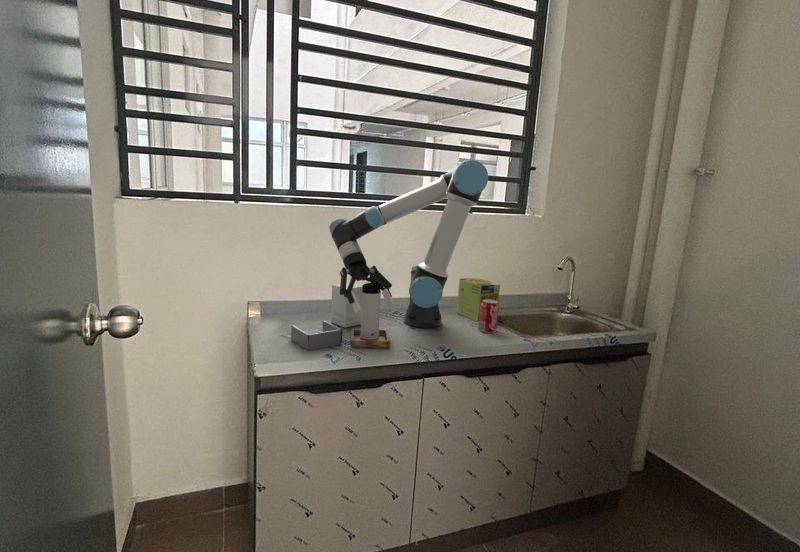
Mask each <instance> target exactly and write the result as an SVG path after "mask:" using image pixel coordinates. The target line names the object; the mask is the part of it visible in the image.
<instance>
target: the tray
mask: <svg viewBox="0 0 800 552" xmlns="http://www.w3.org/2000/svg"><path fill="white" fill-rule="evenodd" d="M360 332H361V328H351V331H350V333H351V334H350V348H351V349H354V348H355V349H385V350H386V349H387V350H388V349H390V348H391V339H390V336H389V335H390V334H389V332H388V329H382V328H381V329H380V328H379V340H360Z"/></svg>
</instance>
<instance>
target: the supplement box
mask: <svg viewBox="0 0 800 552" xmlns="http://www.w3.org/2000/svg"><path fill="white" fill-rule="evenodd" d="M349 283H350V282H347V283H346V290H347V288H348V285H349ZM362 290H363V289H362V285H360V284H355V283H354V286H353V288H352V291H351V293H352V292H354V293H355V296H356V298H357V300H358V303H359V305H360V307H361V305H362ZM330 311H331V314H330V323H331V324H333V325H336V326H340V327H343V328H349V327H354V326H358V325H361V310H360V311H359V312H358V313H355V311H354V308H353V306H352V304H350V303H349V301H348V298H347V297H344V295H340V283H335V284H331V310H330Z"/></svg>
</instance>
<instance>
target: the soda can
mask: <svg viewBox="0 0 800 552" xmlns="http://www.w3.org/2000/svg"><path fill="white" fill-rule="evenodd" d="M499 308H500V306H499V301H496V300H492V299H484V300H483V302H482V303H481V305H480V314H479V322H478V330H479V331H481V332H482V333H486V334H492V333H495V332H496V331H497V328H498V320H499V312H500V311H499Z"/></svg>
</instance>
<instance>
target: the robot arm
mask: <svg viewBox="0 0 800 552" xmlns="http://www.w3.org/2000/svg"><path fill="white" fill-rule="evenodd" d="M488 181H489V172H488V170H487V168H486V166H485V165H484V164H483V163H482V162H480V161H478V160H476V159H470V158H469V159H464V160H462V161H461V162H459V163H458V164H457V165H456V167H454V168H453V169H451V170H449V171H448V172H446V173H444V174H441V175H440V177H439V179H437V180H434V181H432V182H430V183H428V184H425V185H424V186H421V187H419V188H416V189H414V190H412V191H409V192H407V193H405V194H403V195H400V196H398V197H396V198H393V199H391V200H389V201H387V202H386V201H385V202H384V203H382V204H380V205H378V206H377V205H373V206H370V207H368V208H366V209H365V210H363V211H362V212H360V213H359V214H356V216H353V217H352V218H350V219H347V218H344V217H339V218H336V219H334V220H332V221H331V223H330V224H329V227H328V229H329V232H330V234H331V235H330V236H331V239H332V241H333V242H334V244H335V247H336V248H337V251H338V254H339V256H340V258H341V260H342V262H343V265H344V267H342V268H341V270H340V271H339V275H340V283H339V284H340V295H344V297H347V298H348V301H349V303H350V304H352V306H353V308H354V311H355V313H358V312H359V311H360V310H361V307H360V305H359V303H358V300H357V298H356V296H355V293H354V292H352V293H351V291H352V288H353V286H354V284H355V282H356V281H357V282H360V281H366V282H367V283H375V282H377V283H382V285H381V294H382V297H383V299H384V300H385V304H386V305H387V307H388V309H392V308H393V307H394V305H395V303H394V300H393V298H392V297H393V295H392V292H391V291H390V289H391V288H392V287H393V283H391V282H390V281H389V280H388V278H386V277H385V276H384V275H383V274H382V273H381V272H380V271H379V270H378V268H377V266H375V265H373V266H371V267H369V266H368V265H367V260H366V257H365V255H364V254H363V251H362V249H361V247H360V244H359V243H358V240H359V239H361V238H362V237H364V236H366V235H368V234H370V233H372V232H373V231H374V230H376V229H378V228H380V227H384V226H385V225H388V224H389V223H391V222H394V221H395V220H398V219H401V218H404V217H405V216H408V215H410V214H413V213H415V212H418V211H419V210H423V209H425V208H426V207H429V206H431V205H433V204H436V203H438V202H441V201H443V200H446V199H447V200H446V204H445V206H444V209H443V211H442V214H441V216H440V219H439V222H438V224H437V227H436V229H435V232H434V235H433V237H432V240H431V242H430V245H429V247H428V250H427V253H426V255H425V257H424V260H423V262H420V263H418V265H416V264H415V265H412V266H411V271H410V284H409V289H408V295H409V300H408V301H409V302H408V305H407V308H406V310H405V313H404V314H403V323H405V324H406V325H408V326H412V327H417V328H427V329H428V328H429V329H430V328H437V327H440V326H441V325H442V314H441V311H440V306H439V303H440V301H441V300H442V297H443V294H444V287H445V285H446V282H447V280H448V277H449V274H448V272H447V269H448V266H449V264H450V261H451V260H452V259H451V258H452V256H453V254H454V252H455V248H456V247H457V244H458V241H459V239H460V236H461V234H462V231H463V229H464V225H465V224H466V220H467V218H468V215H469V214H470V211H471V208H473V207H474V206H476V205H478V203H479V199H480V197H481V195H482V192H483V191H484V190H485V188H486V187H487V185H488ZM348 275H349V276H350V280H349V282H347V281H348ZM346 283H349V285H348V288H347V290H346Z"/></svg>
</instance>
